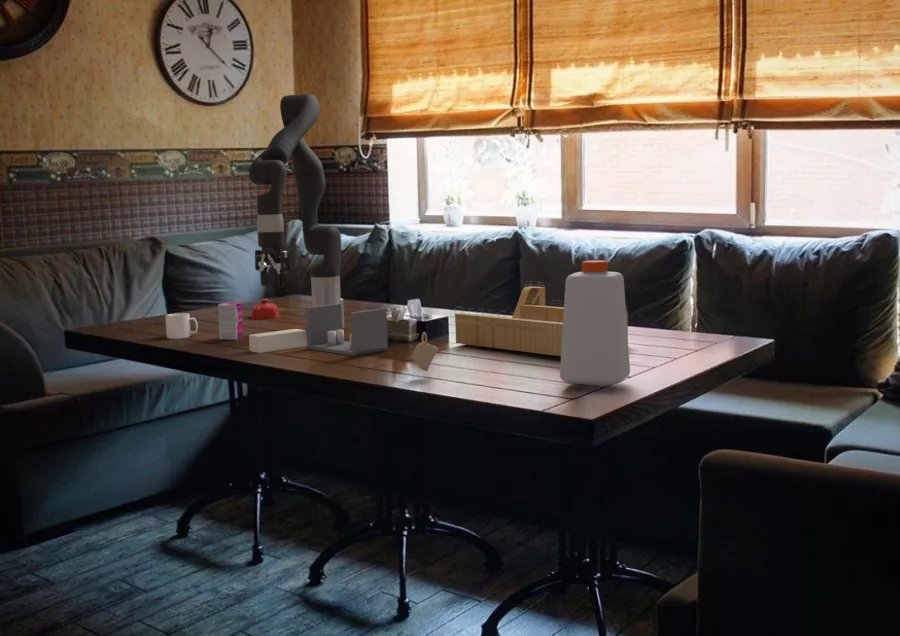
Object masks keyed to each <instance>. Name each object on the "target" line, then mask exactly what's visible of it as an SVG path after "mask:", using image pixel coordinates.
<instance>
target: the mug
mask: <svg viewBox="0 0 900 636" xmlns="http://www.w3.org/2000/svg"><path fill="white" fill-rule="evenodd" d="M190 321H194V323H195V330H194V331H191V322H190ZM165 328H166V329H165V332H166V338H167V339H170V340H171V339H173V340H175V339H180V340H181V339H186V338H190V337H191V336H192V335H193V334H197V333H198V330H199V329H198V328H199V325H198V321H197V319H196V317H190V313H186V312H184V313H183V312H174V313H169V314H165Z"/></svg>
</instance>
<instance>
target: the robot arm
mask: <svg viewBox="0 0 900 636" xmlns="http://www.w3.org/2000/svg"><path fill="white" fill-rule="evenodd" d="M279 105H280V106H279V111H280V116H281V120H282V125H283V128H282V129H280V130H278V132H277V133H275V135H273V137H272V138H271V140H270V142H269V143H268V145H267V147H266V149H265V150H264V151H263V152H261V153H260V154H258V156H257V157H256V158H254V159H253V161H252V162H251V164H250V166H249V170H248V176H249V178H250V181H251V183H253V184H254V185H257V186H270V189H269V191H267V192H264V193H261V194H259V195H258V196H257V198H256V202H257V203H256V205H257V206H256V207H257V220H256V221H257V222H256V224H257V225H256V227H257V244H258V247H259V248H261V249H255V250H254V269H255V271H258V272H259V273H260V274H259V275H260V284H261V286H262V287H264V286H269V284H270V283H269V282H270V281H269V269H270V268H271V267H273V269H275V270H276V273H277V286H278V288H285V287H286V285H287V278H286V277H287V273H289V272H291V260H290V252H289V250H284V251H283V249H282V248H283V247H285V245H286V244H285V226H284V225H285V223H284V217H283V216H284V215H283V204H282V203H283V195H284V189H285V186H286V180H287V175H288V173H287V172H288V171H287V167H286V164H287V163H288V162H289V161H290V158H291V162H292V168H293V175H294V181H295V186H296V190H297V195H298V201H299V207H300V208H299V209H300V214H301V215H300V216H301V225H302V237H303V238H302V239H303V244H304V247H305V250H306V252H308V254H309V255H312V256H323V260H322V262H321V263H320V264H318V265H315V266H312V268H311V269H310V281H311V283H310V284H311V285H310V286H311V303H312V306H311V307H315V306H323V305H331V304H341V308H342V329H344V328H345V316H344V315H345V314H344V312H345V311H344V299H343V298H342V297H341V277H340V275H341V274H340V271H341V266H342V237H341V233H340V230H339V229H338V228H337V227H336V226H332V225H331V226H329V225H328V226H320V225H319V222H318V208H319V206H320V203H321V201H322V198H323V196H324V193H325V189H326V178H325V173H324V167H323V164H322V162H321V160H320V159H319V157H318V156H317V155H316V154H315V152H314V151H313V150H312V149H311V148H310V146H309V145H308V144H307V142H306V141H305V139H304V136H305V135H306V134H307V133H308V132H309V131H310V129H312V127H313V126H314V125H315V123H316V122H317V121H318V118H319V116H320V103H319V101H318V98H317V97H316V96H315V95H314V94H311V93H301V94H299V93H298V94H291V95H290V94H289V95H284V96H283V97H281V100H280V104H279ZM285 266H286V267H285Z"/></svg>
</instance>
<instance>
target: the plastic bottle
mask: <svg viewBox="0 0 900 636" xmlns="http://www.w3.org/2000/svg"><path fill="white" fill-rule="evenodd" d="M608 268H609V263H608V261H607V260H602V259H600V260H598V259H597V260H596V259H595V260H594V259H593V260H592V259H591V260H583V261H582V262H581V271H577V272H573V273H572V274H569V275H568V276H567V277H566V279H565V285H564V286H565V287H564V288H565V289H564V300H563V303H564V304H563V307H564V317H563V333H562V349H561V356H560V366H559V367H560V369H559V377H560V379H561V380H562V381H563V382H565V383H569V384H579V385H580V384H582V385H598V386H599V385H602V386H609V385H610V386H611V385H612V386H613V385H617V384H620V383H622V382H623V381H624V380H625V379H626V378H627V377H629V375H630V373H631V368H630V367H631V365H630V352H629V339H628V338H629V334H628V335H627V320H626V306H627V305H626V297H625V296H626V295H625V294H626V293H625V279H624V276H623V274H622V273H620V272H617V271H608V270H609V269H608Z"/></svg>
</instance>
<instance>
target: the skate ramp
mask: <svg viewBox="0 0 900 636" xmlns="http://www.w3.org/2000/svg"><path fill="white" fill-rule="evenodd" d="M526 282H530V284H529V283H528V284H526ZM535 282H537V283H536V284H534V286H533V285H532V280H531V281H525V286H524V287H523V288H522V290H521V293H520V296H519V298H518V301H517V304H516V307H515V309H514V312H513V311H511V315H507V316H510V317H506V316H499V315H500V314H499V313H497V316H496V315H495V316H494V315H486V314H489V313H486V314H485V313H482V314H477V313H479V312H478V311H475V313H471V309H472V308H468V311H463V309H464V307H462V306H461V305H460V306H457V308H459V309H460V308H461V312H459V313H454V322H455V323H454V324H455V343H456V344H460V345H468V346H477V347H485V348H492V349H501V350H507V351H517V352H518V351H519V352H525V353H533V354H541V355H548V356H556V357H561V349H562V333H563V317H564V306H563V307H562V306H561V303H560V302H561V300H558V306H553V304H554V305H555V303H553V302H551V303H550V305H551V306H550V305H546V286H543V284H542V281H535ZM540 283H541V284H540ZM539 284H540V286H539ZM528 285H529V286H528ZM536 285H537V286H536ZM553 301H557V300H555V299H553ZM625 306H626V320H627V335H628V336H629V333H628V332H629V330H628V329H629V326H628V325H629V323H628V321H629V314H628V313H629V312H628V311H629V310H628V305H625ZM479 310H482V311H483V308H482V309H479ZM492 311H493V312H494V310H493V309H491V310H490V309H489V312H492ZM454 312H458V309H454ZM464 312H465V313H464ZM467 312H468V313H467ZM501 312H504V313H505V311H502V310H501Z"/></svg>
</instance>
